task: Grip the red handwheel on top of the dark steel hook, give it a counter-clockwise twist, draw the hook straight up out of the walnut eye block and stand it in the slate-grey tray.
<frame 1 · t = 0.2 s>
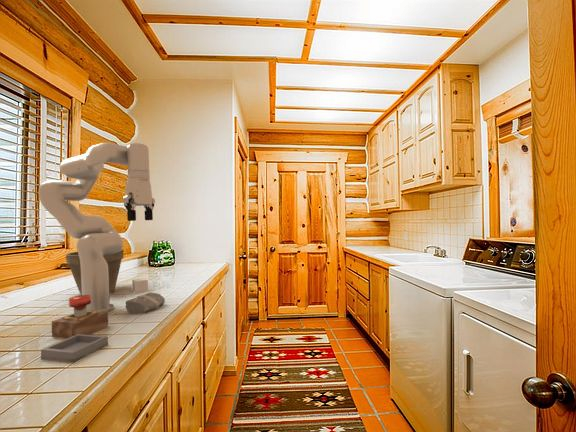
hand: (140, 220, 119), 36 cm above the counter, tool pointing down, fingers open, 9 cm apart
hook: (80, 314, 103), in the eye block
tray: (76, 351, 87), on the counter
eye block: (81, 331, 103), on the counter
decorative stone: (146, 310, 125), on the counter
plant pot: (97, 293, 157), on the counter
pale pink cube: (140, 291, 158), on the counter
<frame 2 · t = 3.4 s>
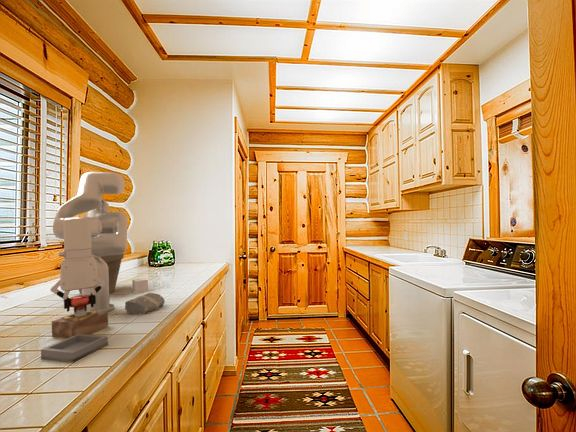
hand: (80, 307, 102), 8 cm above the counter, tool pointing down, fingers closed on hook, 6 cm apart
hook: (80, 314, 103), in the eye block, touching gripper
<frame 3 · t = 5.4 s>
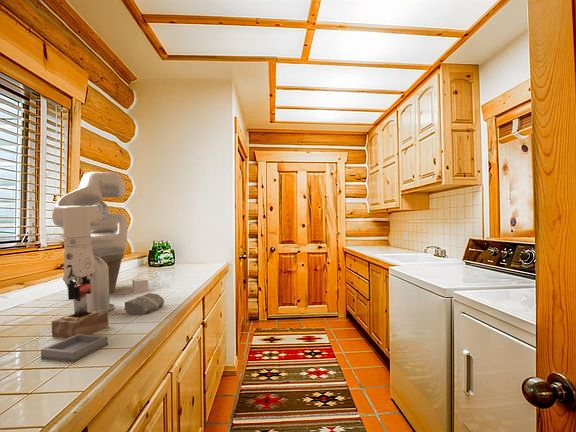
hand: (80, 295, 103), 12 cm above the counter, tool pointing down, fingers closed on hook, 6 cm apart
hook: (80, 302, 103), point 10 cm above the counter, touching gripper
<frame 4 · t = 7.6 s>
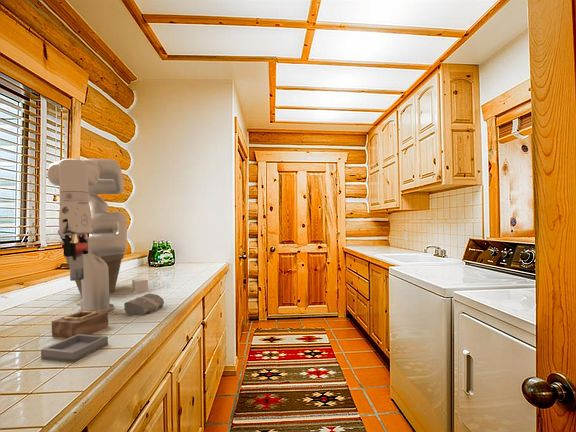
hand: (76, 254, 97), 26 cm above the counter, tool pointing down, fingers closed on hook, 6 cm apart
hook: (76, 261, 97), point 24 cm above the counter, touching gripper
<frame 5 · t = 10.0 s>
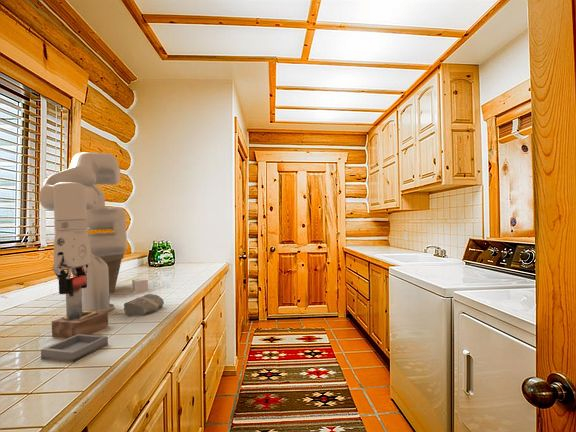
hand: (73, 290, 86), 17 cm above the counter, tool pointing down, fingers closed on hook, 6 cm apart
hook: (73, 297, 86), point 15 cm above the counter, touching gripper
when the fingers open (10 cm above the counter, at t = 11.9 s): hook drops 1 cm, resting on tray.
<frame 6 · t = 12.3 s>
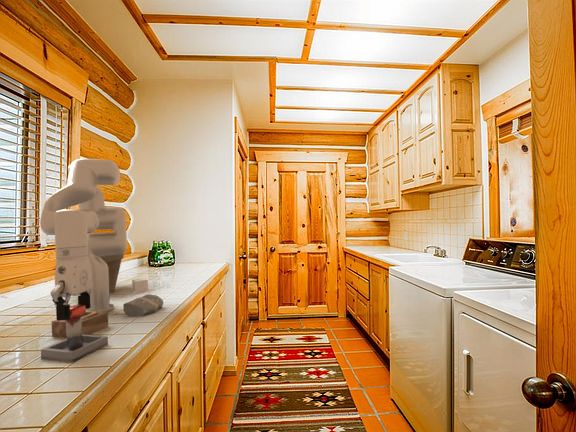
hand: (74, 313, 87), 11 cm above the counter, tool pointing down, fingers open, 9 cm apart
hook: (74, 328, 87), in the tray, point 7 cm above the counter
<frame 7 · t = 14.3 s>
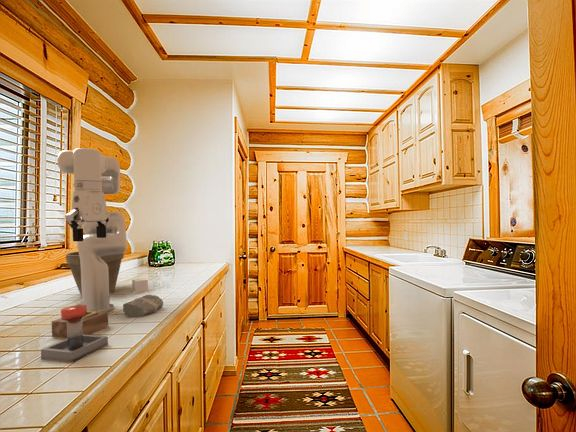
hand: (90, 239, 101), 31 cm above the counter, tool pointing down, fingers open, 9 cm apart
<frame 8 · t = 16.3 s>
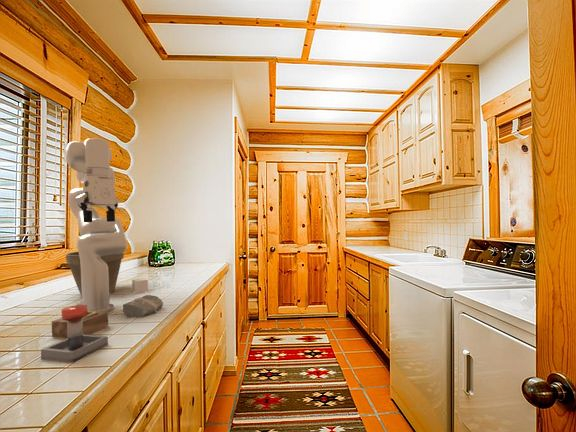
hand: (99, 221, 110), 36 cm above the counter, tool pointing down, fingers open, 9 cm apart
at the end: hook 0.1 cm off-centre on the tray, point 6.6 cm above the tray's base; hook tilted 0°; the gripper is holding nothing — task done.
